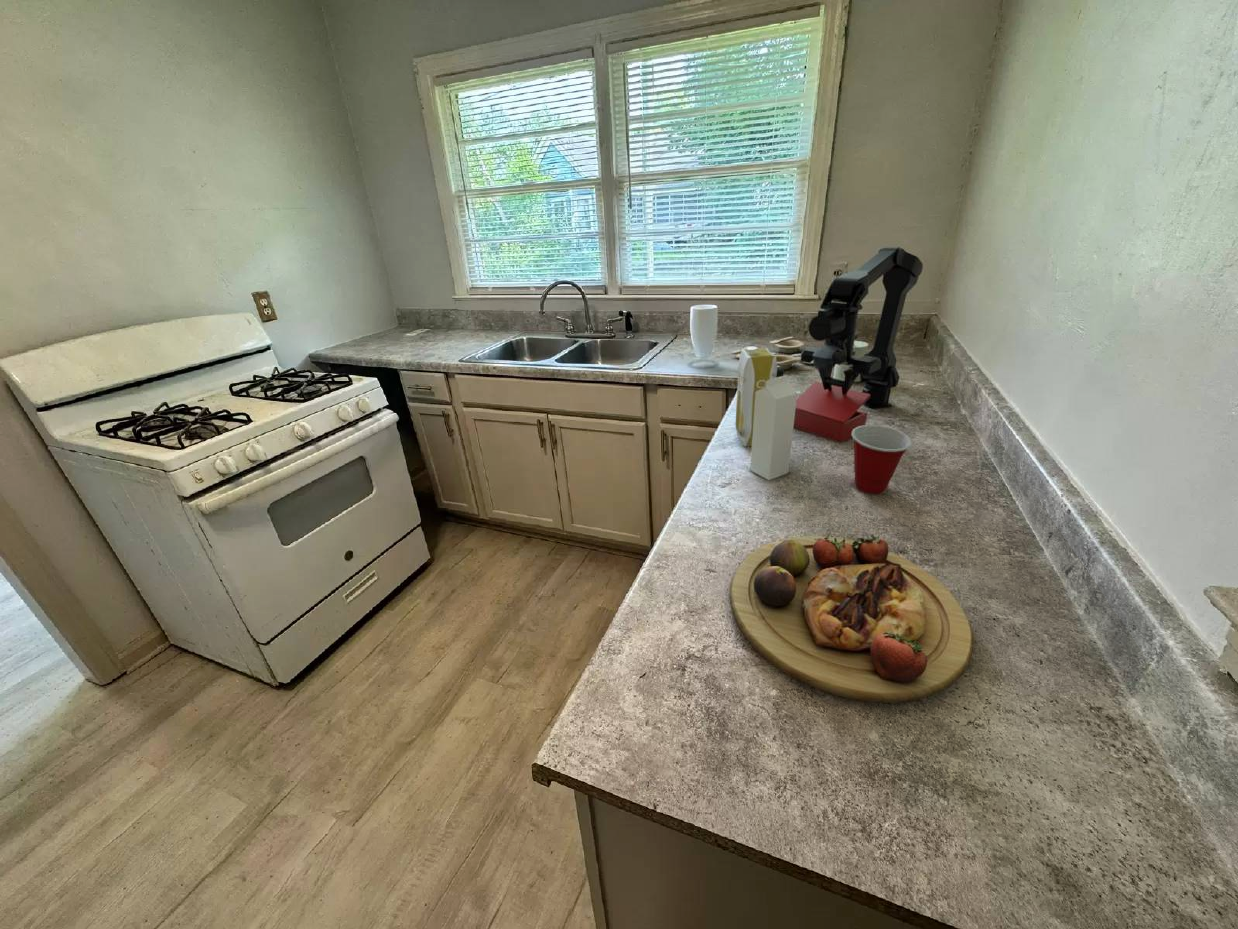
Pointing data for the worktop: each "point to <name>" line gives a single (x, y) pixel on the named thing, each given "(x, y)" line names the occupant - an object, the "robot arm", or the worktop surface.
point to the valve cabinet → (829, 425)
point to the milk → (773, 428)
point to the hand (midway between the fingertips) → (835, 391)
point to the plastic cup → (877, 456)
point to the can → (860, 352)
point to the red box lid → (831, 401)
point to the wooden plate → (851, 618)
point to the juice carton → (751, 387)
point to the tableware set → (786, 347)
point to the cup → (703, 329)
